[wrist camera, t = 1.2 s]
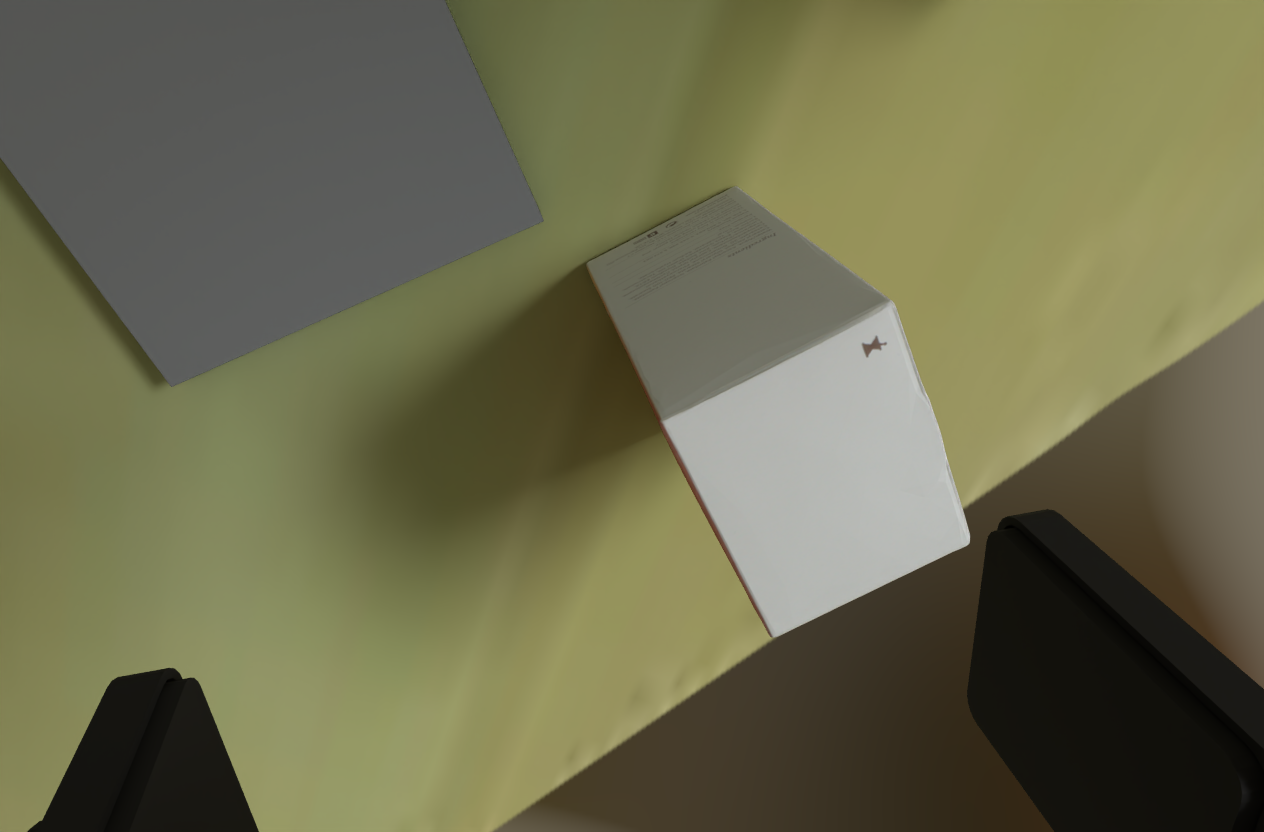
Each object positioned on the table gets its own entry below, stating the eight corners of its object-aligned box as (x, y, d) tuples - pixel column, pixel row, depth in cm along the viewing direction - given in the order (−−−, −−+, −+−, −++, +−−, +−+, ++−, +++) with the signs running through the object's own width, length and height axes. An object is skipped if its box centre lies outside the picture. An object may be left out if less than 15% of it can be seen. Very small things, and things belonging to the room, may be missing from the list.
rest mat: (332, -250, 24) (328, -259, 23) (541, 214, 31) (543, 221, 30) (-127, -41, 24) (-149, -42, 23) (179, 375, 31) (171, 387, 30)
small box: (580, 261, 32) (653, 419, 20) (737, 180, 31) (900, 294, 20) (669, 432, 36) (772, 647, 24) (808, 361, 35) (981, 544, 24)
